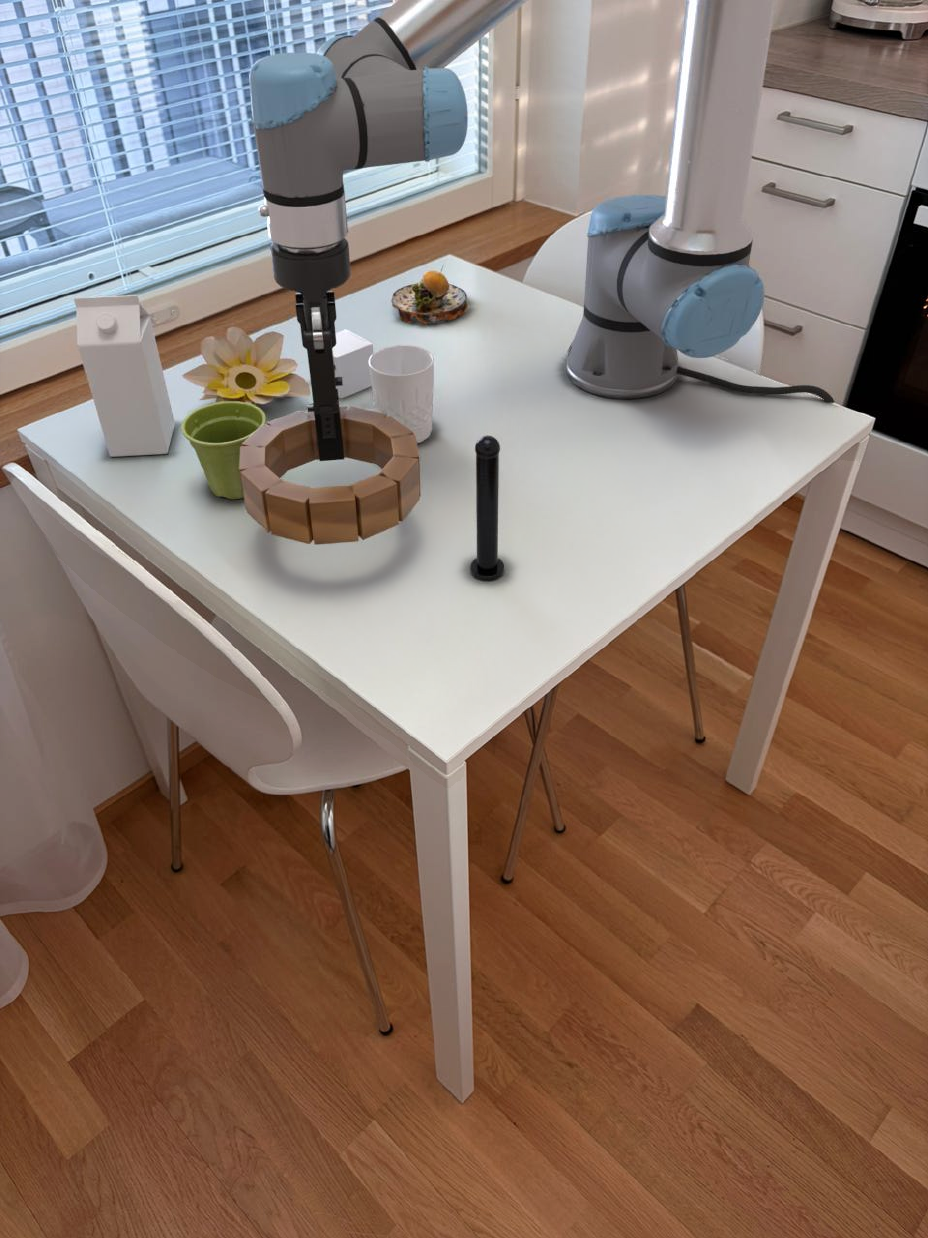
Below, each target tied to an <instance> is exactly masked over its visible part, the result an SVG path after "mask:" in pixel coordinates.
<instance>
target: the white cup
mask: <svg viewBox="0 0 928 1238" xmlns="http://www.w3.org/2000/svg"><path fill="white" fill-rule="evenodd" d="M369 369H370V377H371V385H372V386H371V393H372V397H373V404H374V405H373V406H374V410H375V411H374V412H379V413H384V414H387V417H388V416H391V417H393V418H394V419H395V420H397V421H398V422H400V423H401V424H402V425H404V426H405V427H407V428H408V429H409V430H411V431H412V432H413V435H414V434H415V436H416V441H417V444H420V443H423V442H424V441H426V440H427V439H428V438H430V436H431V434H432V432H433V413H434V395H435V394H434V393H435V392H434V391H435V389H434V387H435V383H434V381H435V378H434V377H435V358H434V355H433V354H432V353H431V352H430V351H429V350H428V349H425V348H423V347H420V346H415V345H411V344H406V345H405V344H400V345H399V344H398V345H391V346H385V347H384V348H380V349H378V350H377V351H375V352H374V354H372V355H371V357H370V358H369Z"/></svg>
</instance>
